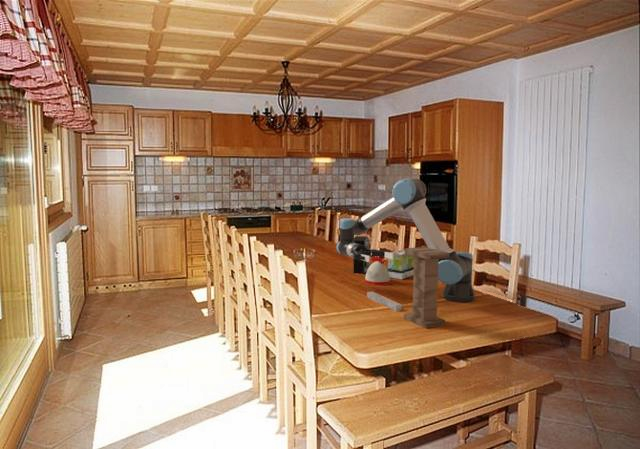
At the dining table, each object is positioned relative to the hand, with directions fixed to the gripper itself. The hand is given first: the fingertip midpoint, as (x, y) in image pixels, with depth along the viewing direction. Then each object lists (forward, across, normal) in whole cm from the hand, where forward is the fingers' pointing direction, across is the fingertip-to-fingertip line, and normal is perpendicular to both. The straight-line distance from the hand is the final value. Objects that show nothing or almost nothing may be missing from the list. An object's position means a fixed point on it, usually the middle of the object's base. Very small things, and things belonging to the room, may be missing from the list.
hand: (381, 258), depth 226 cm
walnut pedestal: (+31, 0, -22) cm, 38 cm away
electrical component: (-64, -30, -21) cm, 74 cm away
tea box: (-40, -43, -22) cm, 63 cm away
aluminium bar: (+1, 0, -22) cm, 22 cm away
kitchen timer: (-35, -22, -22) cm, 47 cm away
